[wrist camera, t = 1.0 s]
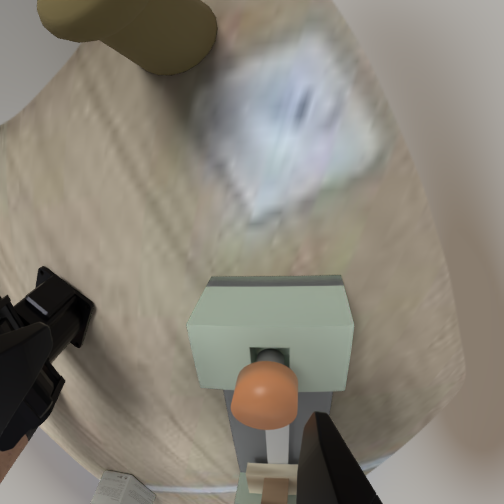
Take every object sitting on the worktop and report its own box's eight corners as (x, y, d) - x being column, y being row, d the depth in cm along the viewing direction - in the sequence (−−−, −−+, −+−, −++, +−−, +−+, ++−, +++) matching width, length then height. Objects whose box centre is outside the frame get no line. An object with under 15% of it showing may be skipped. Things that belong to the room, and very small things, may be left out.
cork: (217, 70, 17) (135, 17, 7) (130, 81, 18) (9, 65, 8) (218, -10, 15) (153, -103, 5) (133, 6, 16) (30, -48, 6)
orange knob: (298, 378, 18) (296, 430, 14) (245, 377, 18) (234, 428, 15) (298, 337, 17) (298, 390, 13) (240, 336, 17) (226, 387, 13)
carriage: (305, 484, 28) (302, 540, 21) (251, 482, 28) (241, 537, 21) (308, 464, 26) (305, 528, 19) (247, 462, 27) (236, 525, 20)
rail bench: (315, 481, 32) (314, 519, 27) (245, 479, 33) (239, 516, 28) (340, 275, 21) (354, 325, 16) (211, 276, 22) (186, 324, 17)
